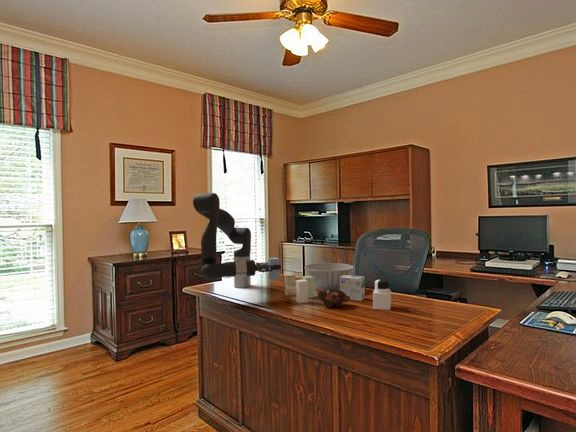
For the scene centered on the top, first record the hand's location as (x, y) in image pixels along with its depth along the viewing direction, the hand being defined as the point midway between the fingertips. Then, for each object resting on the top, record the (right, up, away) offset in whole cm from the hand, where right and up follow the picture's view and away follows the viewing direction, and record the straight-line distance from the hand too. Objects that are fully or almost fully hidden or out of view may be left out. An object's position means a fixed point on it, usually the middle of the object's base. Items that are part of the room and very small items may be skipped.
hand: (279, 266), depth 181 cm
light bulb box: (+35, -16, -2) cm, 39 cm away
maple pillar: (+5, -16, +8) cm, 18 cm away
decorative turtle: (+25, -16, -16) cm, 33 cm away
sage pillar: (+14, -16, +2) cm, 21 cm away
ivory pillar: (+11, -16, -7) cm, 20 cm away
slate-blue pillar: (-3, -6, -1) cm, 7 cm away
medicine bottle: (+45, -16, -19) cm, 52 cm away
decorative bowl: (+27, -15, +20) cm, 37 cm away
